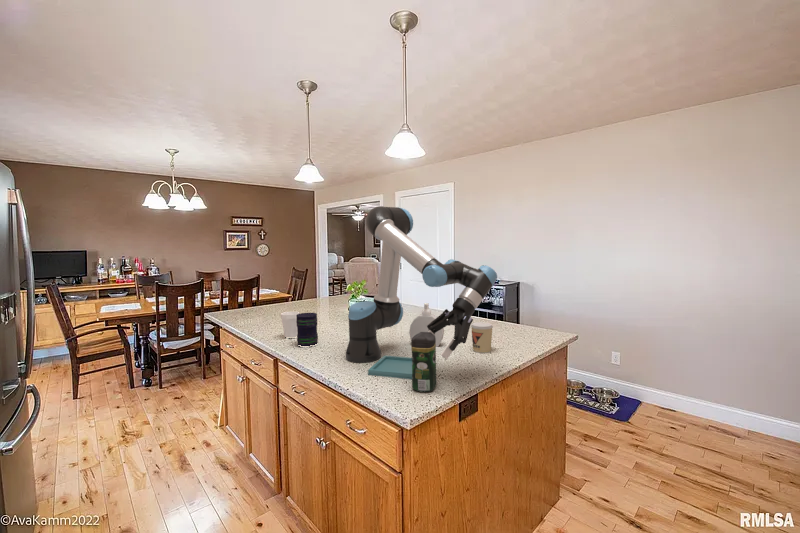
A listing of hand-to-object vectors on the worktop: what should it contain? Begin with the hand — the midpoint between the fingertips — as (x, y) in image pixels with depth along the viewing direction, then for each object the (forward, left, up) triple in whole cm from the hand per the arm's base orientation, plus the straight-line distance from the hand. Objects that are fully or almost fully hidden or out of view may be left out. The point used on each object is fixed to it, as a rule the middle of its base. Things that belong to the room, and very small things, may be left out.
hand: (431, 351), depth 126 cm
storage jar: (-70, +35, -12) cm, 79 cm away
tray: (-17, +14, -12) cm, 25 cm away
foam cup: (-86, +45, -12) cm, 97 cm away
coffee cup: (+12, +46, -12) cm, 49 cm away
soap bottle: (-14, +49, -12) cm, 52 cm away
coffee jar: (-3, -1, -12) cm, 13 cm away
